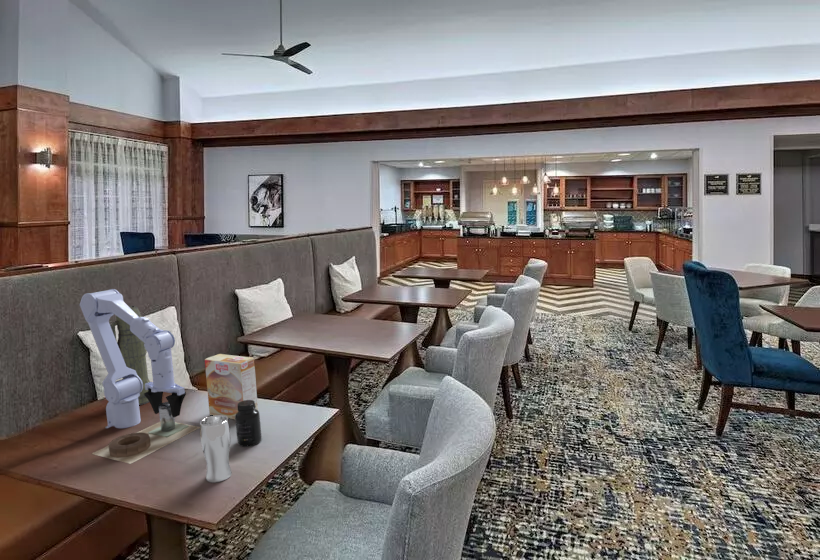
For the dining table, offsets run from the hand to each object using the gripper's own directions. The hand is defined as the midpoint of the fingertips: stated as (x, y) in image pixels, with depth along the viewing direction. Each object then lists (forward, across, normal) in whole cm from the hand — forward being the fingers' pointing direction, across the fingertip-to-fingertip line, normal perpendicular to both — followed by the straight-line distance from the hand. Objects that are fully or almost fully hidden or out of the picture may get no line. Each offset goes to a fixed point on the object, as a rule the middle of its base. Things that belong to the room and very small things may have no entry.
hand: (167, 414), depth 152 cm
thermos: (+6, -33, +15) cm, 37 cm away
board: (+6, 0, -7) cm, 9 cm away
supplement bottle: (+6, +28, +4) cm, 29 cm away
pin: (+5, 0, 0) cm, 5 cm away
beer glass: (+6, +34, -14) cm, 37 cm away
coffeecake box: (+6, +9, +18) cm, 21 cm away
